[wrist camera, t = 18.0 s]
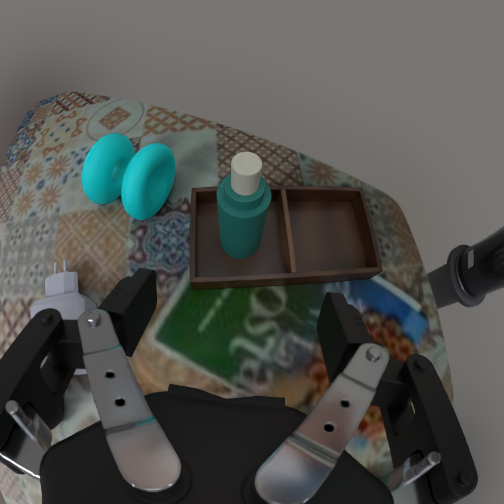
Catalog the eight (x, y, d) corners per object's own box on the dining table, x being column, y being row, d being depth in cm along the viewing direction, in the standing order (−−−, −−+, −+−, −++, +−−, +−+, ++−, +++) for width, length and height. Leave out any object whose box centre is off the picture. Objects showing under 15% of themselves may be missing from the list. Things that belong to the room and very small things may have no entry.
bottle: (258, 222, 36) (275, 140, 22) (261, 258, 35) (282, 189, 20) (219, 223, 36) (214, 140, 22) (220, 260, 34) (214, 190, 20)
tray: (353, 200, 40) (362, 187, 36) (370, 278, 35) (382, 271, 32) (194, 202, 38) (191, 187, 34) (194, 289, 33) (189, 282, 30)
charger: (95, 260, 34) (108, 372, 29) (45, 272, 32) (54, 376, 27) (79, 247, 29) (91, 373, 24) (27, 261, 28) (34, 376, 23)
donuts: (150, 235, 35) (127, 196, 26) (96, 213, 36) (66, 174, 27) (183, 177, 39) (173, 129, 30) (130, 161, 39) (111, 117, 30)
